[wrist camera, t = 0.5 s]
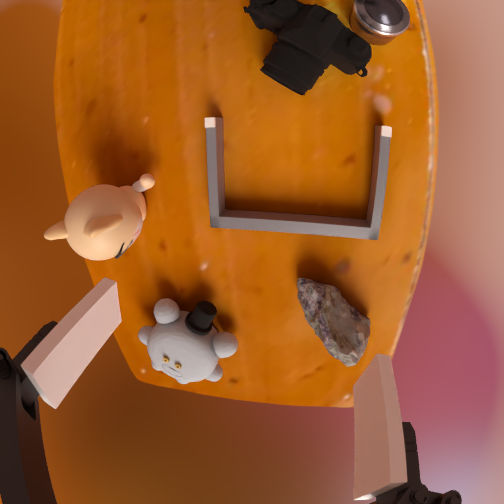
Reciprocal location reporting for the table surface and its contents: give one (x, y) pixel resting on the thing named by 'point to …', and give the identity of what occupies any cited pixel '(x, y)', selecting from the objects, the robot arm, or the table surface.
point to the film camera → (307, 43)
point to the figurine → (187, 342)
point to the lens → (379, 20)
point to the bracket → (289, 220)
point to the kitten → (104, 219)
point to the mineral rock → (334, 320)
